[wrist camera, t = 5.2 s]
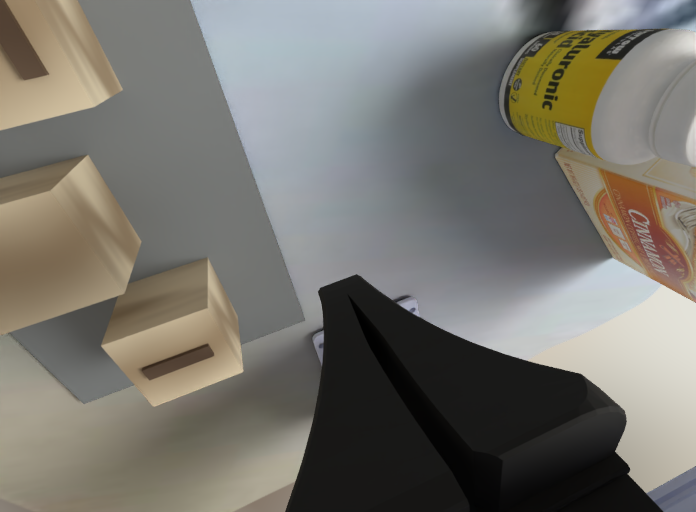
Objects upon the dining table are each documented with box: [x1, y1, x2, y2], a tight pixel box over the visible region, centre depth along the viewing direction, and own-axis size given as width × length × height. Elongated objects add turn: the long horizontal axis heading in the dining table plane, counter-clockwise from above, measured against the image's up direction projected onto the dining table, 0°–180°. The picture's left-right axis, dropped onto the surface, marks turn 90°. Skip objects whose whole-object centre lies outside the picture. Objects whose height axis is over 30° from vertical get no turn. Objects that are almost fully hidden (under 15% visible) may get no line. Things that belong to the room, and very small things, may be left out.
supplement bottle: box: [499, 29, 696, 167], centre depth 17 cm, size 5×5×10 cm
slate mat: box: [0, 0, 305, 404], centre depth 17 cm, size 22×14×1 cm, turn 12°
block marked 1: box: [101, 257, 243, 407], centre depth 18 cm, size 4×4×5 cm
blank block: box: [0, 155, 142, 335], centre depth 14 cm, size 4×4×4 cm
